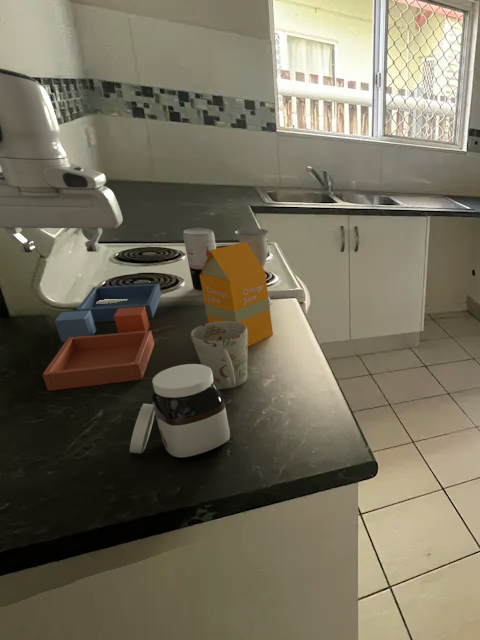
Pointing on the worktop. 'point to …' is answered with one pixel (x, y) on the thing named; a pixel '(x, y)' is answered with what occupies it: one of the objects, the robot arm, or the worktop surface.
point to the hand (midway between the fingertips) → (62, 251)
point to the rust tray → (100, 360)
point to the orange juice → (237, 290)
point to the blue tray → (134, 293)
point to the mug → (223, 351)
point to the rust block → (131, 319)
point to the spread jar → (184, 413)
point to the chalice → (255, 243)
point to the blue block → (75, 324)
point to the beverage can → (198, 251)
